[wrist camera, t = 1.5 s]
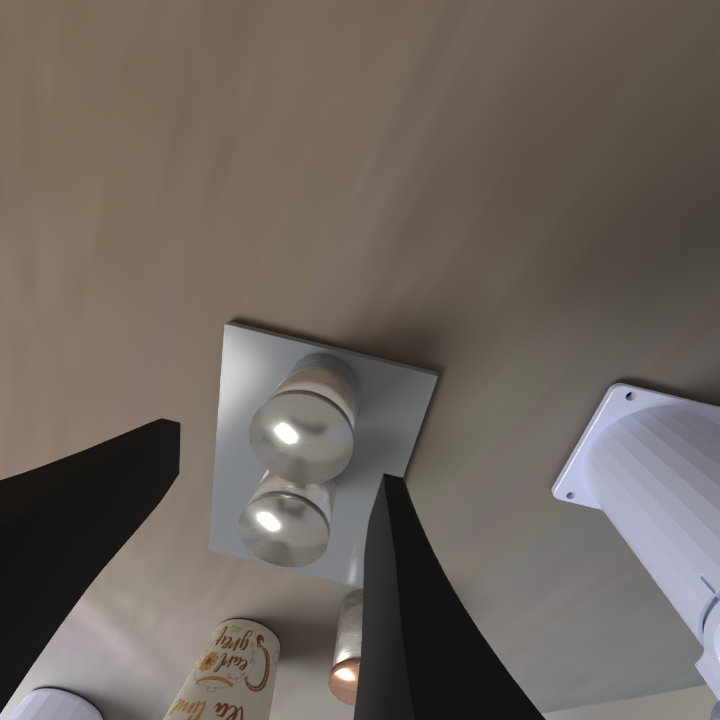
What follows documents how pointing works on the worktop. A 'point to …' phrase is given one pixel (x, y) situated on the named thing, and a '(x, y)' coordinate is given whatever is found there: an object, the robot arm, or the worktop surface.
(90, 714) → the soap bottle
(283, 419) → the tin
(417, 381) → the slate board
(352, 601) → the cylinder
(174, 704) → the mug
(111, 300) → the worktop surface
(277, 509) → the tin middle
